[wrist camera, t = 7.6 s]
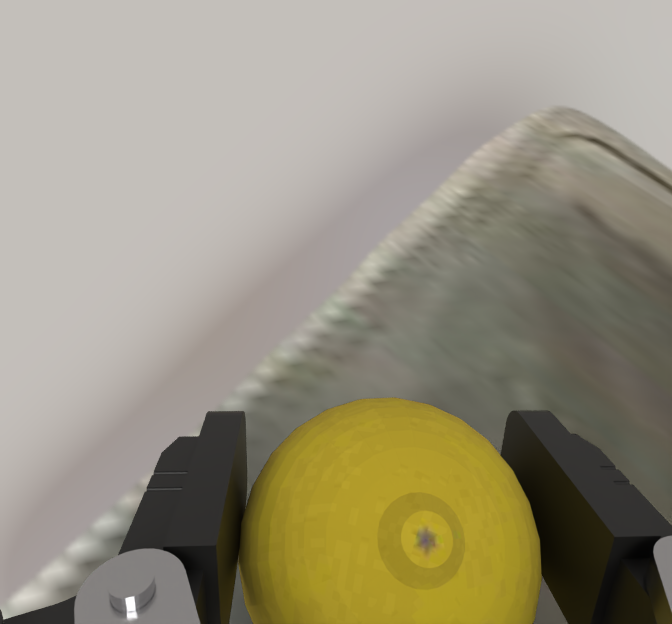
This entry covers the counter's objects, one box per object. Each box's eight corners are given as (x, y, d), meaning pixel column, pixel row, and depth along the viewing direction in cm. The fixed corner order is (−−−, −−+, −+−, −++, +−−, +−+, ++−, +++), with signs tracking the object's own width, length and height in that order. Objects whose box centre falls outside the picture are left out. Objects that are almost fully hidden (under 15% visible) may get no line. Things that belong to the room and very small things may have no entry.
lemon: (253, 446, 15) (215, 346, 7) (440, 436, 15) (575, 333, 8) (254, 677, 12) (196, 866, 5) (474, 656, 13) (710, 795, 6)
